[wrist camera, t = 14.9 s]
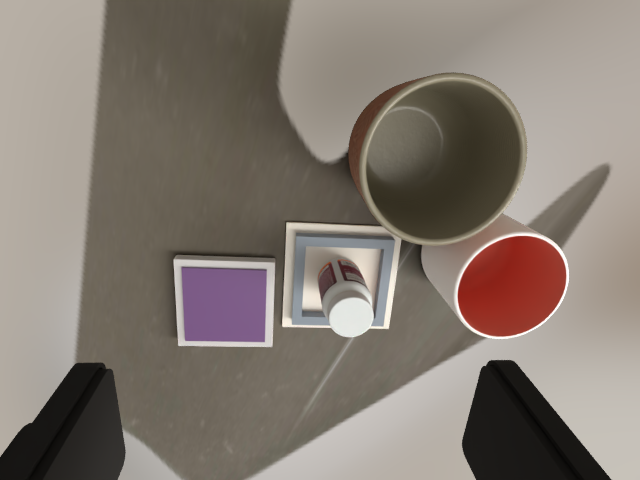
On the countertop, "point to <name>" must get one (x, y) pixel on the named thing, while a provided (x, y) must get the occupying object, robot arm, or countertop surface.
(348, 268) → the pill bottle
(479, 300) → the cup
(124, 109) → the countertop surface
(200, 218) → the countertop surface
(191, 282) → the ink pad
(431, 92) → the planter
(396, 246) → the square tray
